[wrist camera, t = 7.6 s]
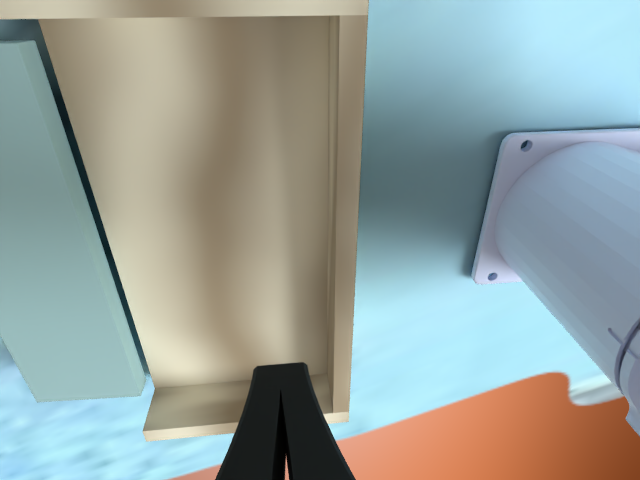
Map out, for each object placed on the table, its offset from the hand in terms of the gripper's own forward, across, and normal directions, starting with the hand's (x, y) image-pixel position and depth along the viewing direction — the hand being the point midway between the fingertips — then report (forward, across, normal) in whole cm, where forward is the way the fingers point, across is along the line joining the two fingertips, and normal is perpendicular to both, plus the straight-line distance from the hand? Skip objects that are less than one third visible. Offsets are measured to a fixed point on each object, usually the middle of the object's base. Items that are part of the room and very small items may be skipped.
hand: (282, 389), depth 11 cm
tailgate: (+8, +7, 0) cm, 11 cm away
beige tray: (+9, +2, 0) cm, 10 cm away
